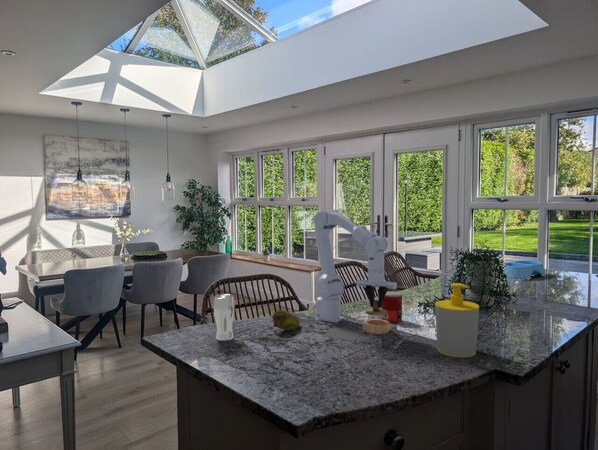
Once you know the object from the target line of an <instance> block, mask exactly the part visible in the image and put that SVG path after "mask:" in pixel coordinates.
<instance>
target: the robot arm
mask: <svg viewBox="0 0 598 450" xmlns="http://www.w3.org/2000/svg"><path fill="white" fill-rule="evenodd" d="M313 223H314V224H313V225H314V236H315V241H316V247H317V253H318V260H319V264H320V270H321V276H320V277H319V279H318V280H317V281H318V282H317V284H318V287H317V290H318V292H317V293H318V295H319V296H318V297H317V299H316V302H315V320H316V321H324V322H330V323H339V322H340V321H341V320H343V319H344V318H345V317H344V316H341V298H342V295H343V294H344V292H345V285H344V283H343V281H342V278H341V275H339V273H337V272H336V268H335V267H336V266H335V260H334V256H333V251H332V245H331V240H330V233H331V231H332V230H334V229H335V228H336V227H337V226H338V227H340V228H342V229H344V230H345V231H347V232H349V233H350V234H351V235H352V238H353V239H354V240H355V241H356V242H358V243H359V244H360V245H362V246H364V249H365V250H366V256H367V260H368V261H367V266H368V267H367V274H368V275H367V277H368V279H358V280H356V281H355V282H356V287H364V291H365V294H366V295H367V298H368V301H369V304H370V306H369V307H370V308H373V300H375V289H376V288H377V295H378V300H379V303H378V306H379V308H380V309H381V307H382V304H383V300H384V297H385V294H386V292H387V291H389V289H392V290H396V289H398V287H397V286H398V285H397V282H391V281H386V280H385V251H386V250H387V249H388V240H387V239H386V237H384V236H383V235H377V234H376V232H372V231H371V230H369V229H368V227H367V226H366V225H357V224H355V223H354V222H352V220H350V219H349V218H348V217H347V216H345V215H344V213H343V212H342V211H339V210H338V209H327V210H326V209H325V210H322V209H319V210H317V211H316V212H315V214H314V216H313Z"/></svg>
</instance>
